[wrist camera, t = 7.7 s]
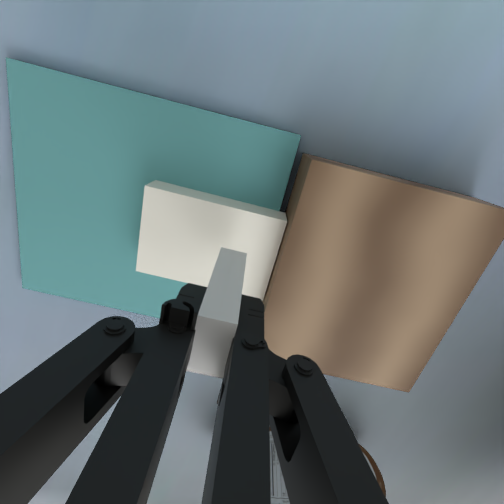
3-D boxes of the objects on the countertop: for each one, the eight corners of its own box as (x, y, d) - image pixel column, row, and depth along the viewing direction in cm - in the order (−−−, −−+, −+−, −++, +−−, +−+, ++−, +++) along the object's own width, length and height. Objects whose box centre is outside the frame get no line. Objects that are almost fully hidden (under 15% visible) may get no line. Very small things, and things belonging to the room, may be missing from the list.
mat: (300, 135, 19) (301, 135, 19) (243, 331, 25) (243, 336, 25) (13, 59, 18) (5, 57, 18) (27, 284, 24) (22, 288, 24)
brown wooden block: (473, 197, 20) (519, 213, 17) (388, 354, 26) (408, 392, 22) (302, 152, 20) (312, 159, 16) (252, 323, 25) (250, 358, 21)
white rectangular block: (285, 212, 21) (287, 221, 19) (263, 286, 23) (262, 300, 21) (155, 179, 20) (144, 185, 18) (146, 258, 22) (135, 271, 20)
